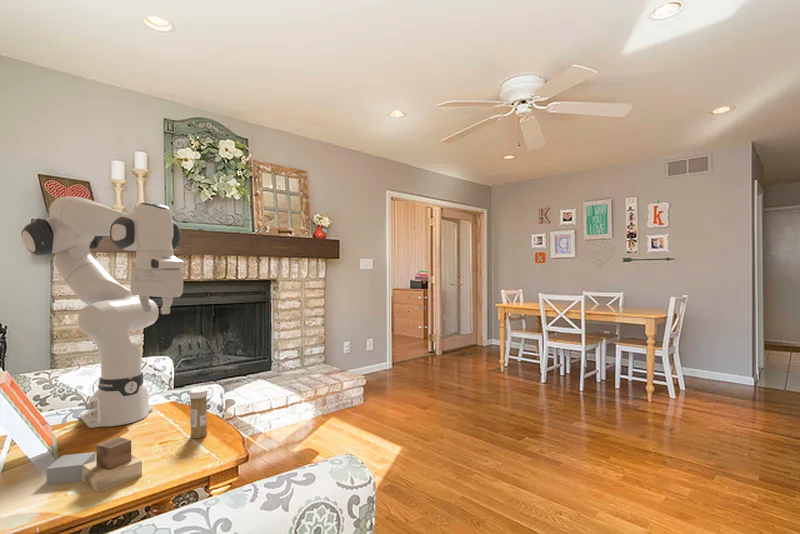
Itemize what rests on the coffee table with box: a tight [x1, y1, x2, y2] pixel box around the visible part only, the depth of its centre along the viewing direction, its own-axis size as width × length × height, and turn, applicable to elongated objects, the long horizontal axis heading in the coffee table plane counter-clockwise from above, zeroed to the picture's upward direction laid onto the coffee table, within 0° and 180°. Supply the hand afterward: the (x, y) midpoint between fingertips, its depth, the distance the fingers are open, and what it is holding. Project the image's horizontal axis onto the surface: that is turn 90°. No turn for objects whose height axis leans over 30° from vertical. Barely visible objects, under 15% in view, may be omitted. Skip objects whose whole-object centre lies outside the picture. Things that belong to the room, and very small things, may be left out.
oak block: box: [83, 454, 143, 493], centre depth 101 cm, size 9×9×4 cm
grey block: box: [46, 451, 96, 486], centre depth 102 cm, size 7×7×4 cm
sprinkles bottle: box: [189, 388, 208, 439], centre depth 126 cm, size 5×5×14 cm
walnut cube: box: [95, 436, 132, 470], centre depth 101 cm, size 5×5×5 cm
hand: (155, 312), depth 117 cm, fingers open, 8 cm apart
